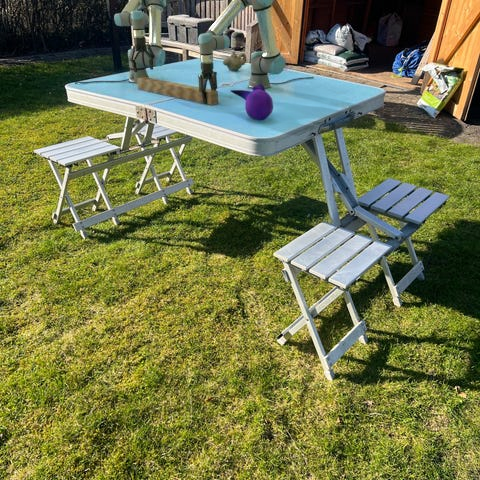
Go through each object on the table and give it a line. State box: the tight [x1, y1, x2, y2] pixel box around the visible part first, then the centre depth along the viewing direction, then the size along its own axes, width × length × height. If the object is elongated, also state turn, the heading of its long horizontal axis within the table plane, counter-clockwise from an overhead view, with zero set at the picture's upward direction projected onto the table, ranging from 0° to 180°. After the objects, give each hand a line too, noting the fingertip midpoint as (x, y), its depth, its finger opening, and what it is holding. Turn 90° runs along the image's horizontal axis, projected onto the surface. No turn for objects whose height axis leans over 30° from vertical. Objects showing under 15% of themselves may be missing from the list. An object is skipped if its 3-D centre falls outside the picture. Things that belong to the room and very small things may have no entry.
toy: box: [230, 85, 274, 121], centre depth 242 cm, size 16×18×27 cm
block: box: [136, 77, 219, 106], centre depth 293 cm, size 74×6×8 cm, turn 47°
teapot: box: [222, 51, 247, 72], centre depth 365 cm, size 21×12×15 cm, turn 120°
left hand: (143, 70), depth 308 cm, fingers open, 13 cm apart
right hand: (208, 102), depth 276 cm, fingers closed on block, 6 cm apart
